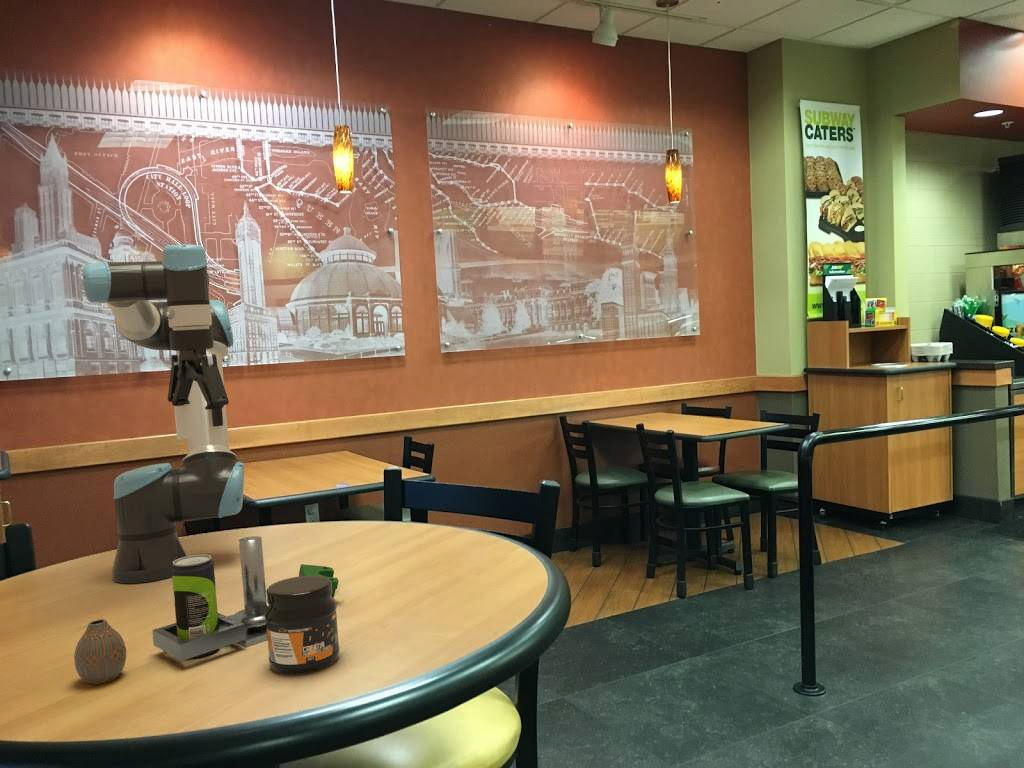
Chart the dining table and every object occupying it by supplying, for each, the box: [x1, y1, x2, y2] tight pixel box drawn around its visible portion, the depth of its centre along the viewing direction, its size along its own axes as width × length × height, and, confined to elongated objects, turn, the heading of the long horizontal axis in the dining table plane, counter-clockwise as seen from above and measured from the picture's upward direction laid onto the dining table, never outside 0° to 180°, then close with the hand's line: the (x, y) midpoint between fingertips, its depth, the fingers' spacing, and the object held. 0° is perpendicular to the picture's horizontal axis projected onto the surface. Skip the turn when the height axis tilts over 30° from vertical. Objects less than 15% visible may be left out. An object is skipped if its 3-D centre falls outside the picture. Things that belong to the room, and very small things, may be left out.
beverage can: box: [171, 554, 219, 659], centre depth 130 cm, size 6×6×15 cm
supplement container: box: [265, 575, 340, 675], centre depth 123 cm, size 10×10×12 cm
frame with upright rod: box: [151, 535, 268, 662], centre depth 133 cm, size 10×20×16 cm, turn 136°
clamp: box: [298, 563, 340, 599], centre depth 152 cm, size 12×6×9 cm, turn 14°
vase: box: [73, 618, 127, 685], centre depth 121 cm, size 7×7×9 cm
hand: (200, 441), depth 153 cm, fingers open, 13 cm apart
